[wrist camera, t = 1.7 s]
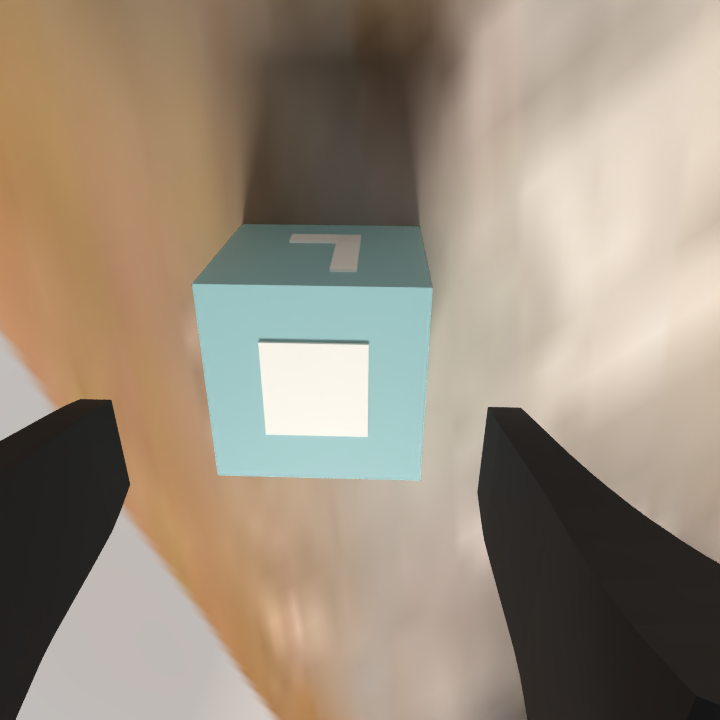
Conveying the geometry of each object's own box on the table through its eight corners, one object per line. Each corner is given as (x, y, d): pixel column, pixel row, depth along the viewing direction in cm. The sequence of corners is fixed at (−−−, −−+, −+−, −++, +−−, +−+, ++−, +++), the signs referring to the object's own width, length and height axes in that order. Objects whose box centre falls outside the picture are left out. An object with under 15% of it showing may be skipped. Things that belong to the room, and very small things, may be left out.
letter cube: (419, 222, 16) (433, 285, 12) (411, 380, 19) (420, 482, 14) (242, 220, 17) (190, 282, 12) (256, 377, 19) (217, 477, 14)
